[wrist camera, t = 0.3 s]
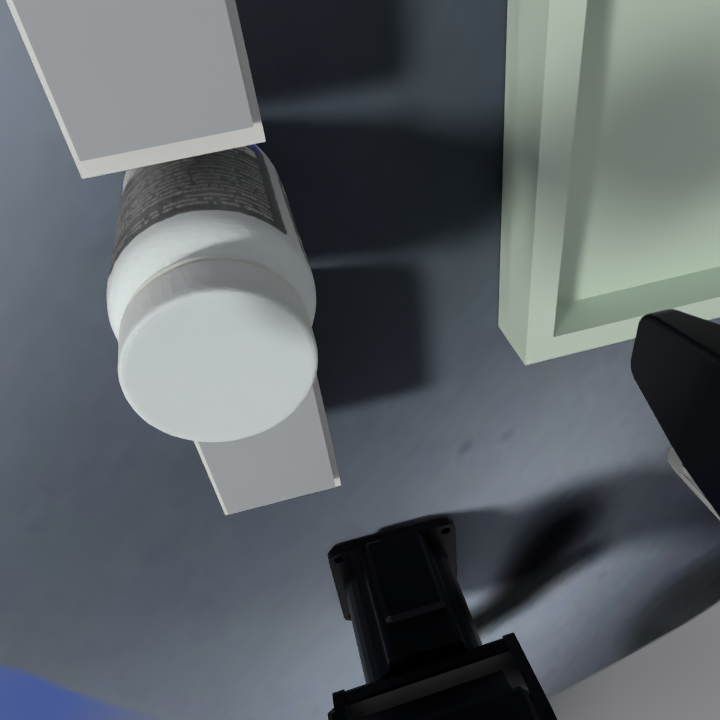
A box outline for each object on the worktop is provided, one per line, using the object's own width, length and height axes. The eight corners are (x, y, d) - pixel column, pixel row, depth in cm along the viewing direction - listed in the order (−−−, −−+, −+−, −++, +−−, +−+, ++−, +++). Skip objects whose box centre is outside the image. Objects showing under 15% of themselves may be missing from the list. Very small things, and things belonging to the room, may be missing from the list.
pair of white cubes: (318, 399, 25) (343, 494, 21) (218, 423, 25) (225, 524, 21) (182, -208, 13) (185, -231, 10) (-10, -180, 13) (-84, -193, 9)
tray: (796, 254, 26) (845, 285, 24) (498, 325, 25) (525, 365, 23) (948, -148, 18) (1041, -148, 16) (509, -70, 16) (553, -60, 14)
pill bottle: (86, 194, 18) (37, 379, 12) (205, 83, 17) (222, 220, 11) (206, 294, 21) (220, 487, 15) (314, 205, 20) (380, 370, 14)
